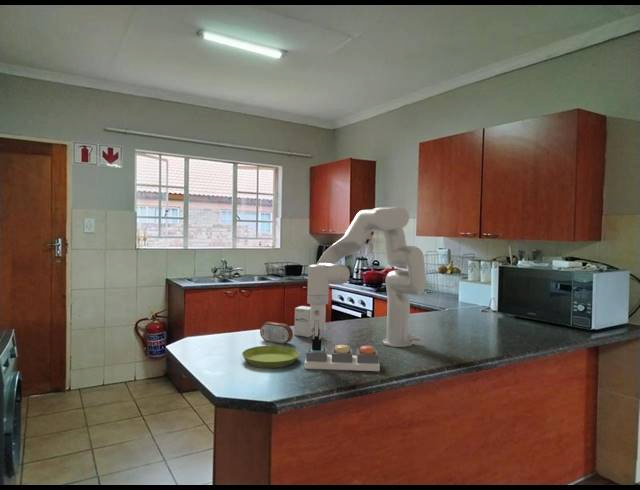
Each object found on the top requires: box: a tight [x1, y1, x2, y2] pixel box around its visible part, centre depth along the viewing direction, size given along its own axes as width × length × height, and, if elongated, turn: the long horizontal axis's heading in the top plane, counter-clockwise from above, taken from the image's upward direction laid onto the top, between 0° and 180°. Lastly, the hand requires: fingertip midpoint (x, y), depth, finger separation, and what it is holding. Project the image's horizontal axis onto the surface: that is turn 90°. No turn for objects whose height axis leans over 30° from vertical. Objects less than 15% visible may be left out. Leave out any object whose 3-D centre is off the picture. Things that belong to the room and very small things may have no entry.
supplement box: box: [293, 305, 313, 338], centre depth 200 cm, size 7×7×13 cm
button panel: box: [303, 346, 381, 372], centre depth 156 cm, size 26×11×5 cm, turn 87°
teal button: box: [310, 347, 324, 353], centre depth 157 cm, size 5×5×3 cm
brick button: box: [359, 345, 375, 354], centre depth 156 cm, size 5×5×3 cm
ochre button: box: [334, 344, 350, 354], centre depth 156 cm, size 5×5×3 cm
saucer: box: [241, 345, 300, 369], centre depth 160 cm, size 21×21×3 cm
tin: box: [259, 321, 294, 345], centre depth 186 cm, size 15×3×8 cm, turn 65°
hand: (316, 349), depth 157 cm, fingers closed
